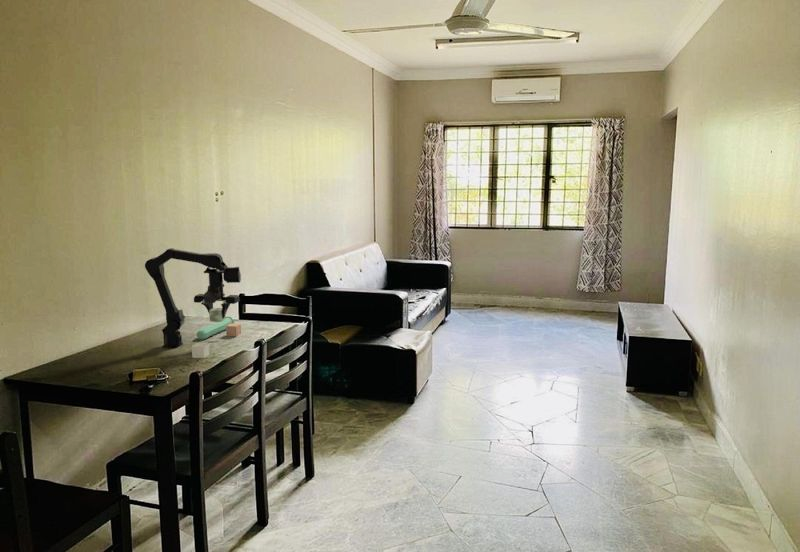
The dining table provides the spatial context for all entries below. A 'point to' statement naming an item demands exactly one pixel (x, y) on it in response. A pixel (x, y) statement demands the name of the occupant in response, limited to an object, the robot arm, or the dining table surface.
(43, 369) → the dining table surface
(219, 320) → the sage block
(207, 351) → the off white block
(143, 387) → the dining table surface
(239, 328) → the terracotta block
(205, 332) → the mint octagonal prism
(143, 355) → the dining table surface
